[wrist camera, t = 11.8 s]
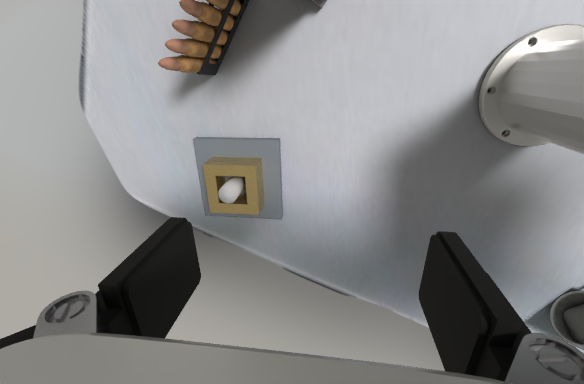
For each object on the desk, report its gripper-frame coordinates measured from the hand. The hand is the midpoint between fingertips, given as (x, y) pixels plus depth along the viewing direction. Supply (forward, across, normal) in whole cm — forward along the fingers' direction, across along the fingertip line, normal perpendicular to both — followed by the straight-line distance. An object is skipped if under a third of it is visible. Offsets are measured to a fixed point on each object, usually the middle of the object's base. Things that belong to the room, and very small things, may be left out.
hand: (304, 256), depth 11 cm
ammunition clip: (+29, +12, -11) cm, 33 cm away
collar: (+27, +12, +8) cm, 31 cm away
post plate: (+28, +12, +8) cm, 32 cm away
